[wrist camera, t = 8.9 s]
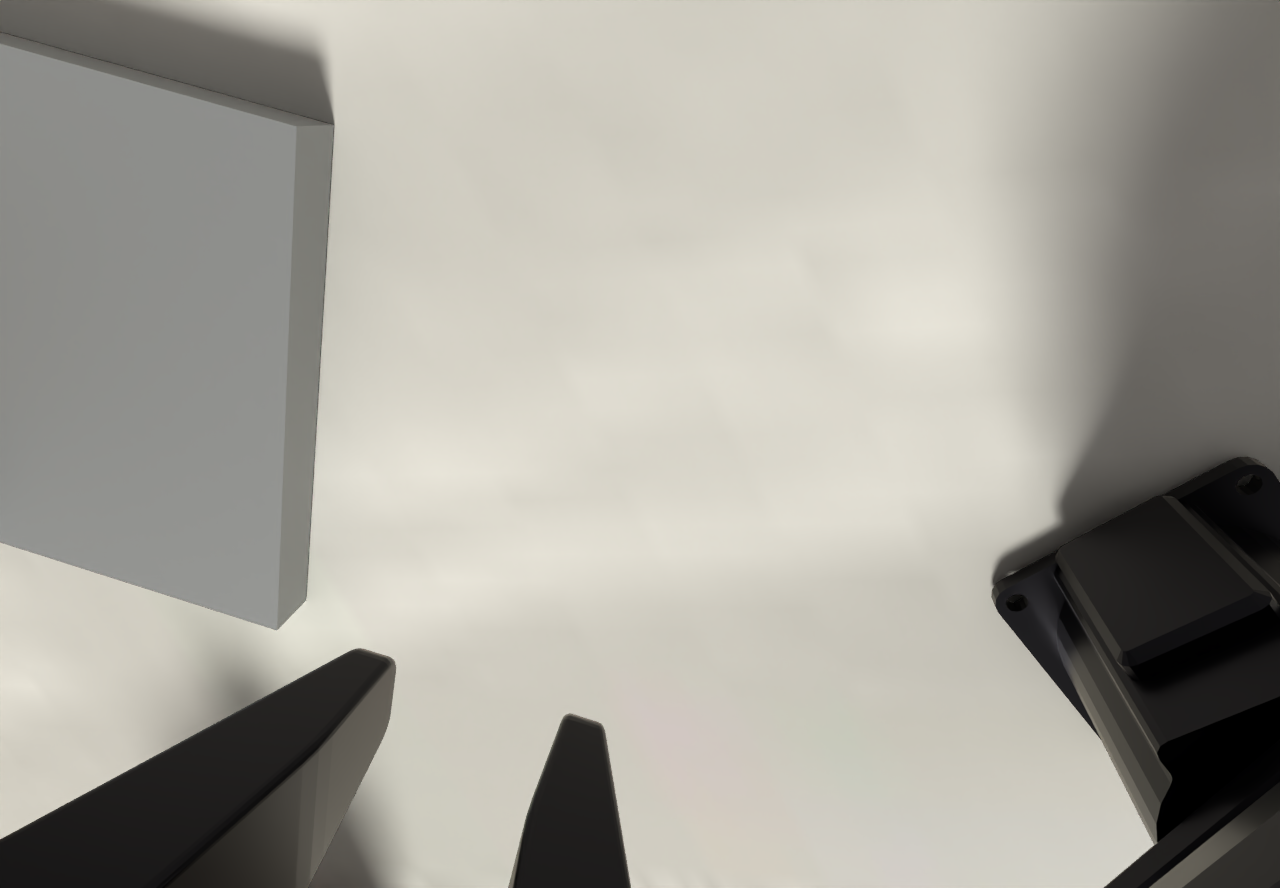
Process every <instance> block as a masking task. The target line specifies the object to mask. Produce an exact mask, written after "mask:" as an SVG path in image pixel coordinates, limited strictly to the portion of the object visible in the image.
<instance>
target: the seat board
mask: <svg viewBox="0 0 1280 888" xmlns="http://www.w3.org/2000/svg"><path fill="white" fill-rule="evenodd" d="M333 131H334V125H332V124H328V123H325V122H321V121H318V120H314V119H310V118H307V117H303V116H300V115H296V114H293V113H289V112H285V111H282V110H278V109H275V108H271V107H267V106H264V105H260V104H257V103H253V102H249V101H246V100H242V99H239V98H235V97H231V96H228V95H224V94H221V93H217V92H214V91H210V90H206V89H203V88H199V87H196V86H192V85H188V84H185V83H181V82H178V81H174V80H170V79H167V78H163V77H160V76H156V75H152V74H149V73H145V72H142V71H138V70H135V69H131V68H127V67H124V66H120V65H117V64H113V63H109V62H106V61H102V60H99V59H95V58H91V57H88V56H84V55H81V54H77V53H73V52H70V51H66V50H63V49H59V48H56V47H52V46H48V45H45V44H41V43H38V42H34V41H30V40H27V39H23V38H20V37H16V36H12V35H9V34H5V33H2V32H0V543H4V544H7V545H10V546H13V547H16V548H19V549H22V550H26V551H29V552H32V553H35V554H38V555H41V556H45V557H48V558H51V559H54V560H57V561H60V562H63V563H67V564H70V565H73V566H76V567H79V568H82V569H85V570H89V571H92V572H95V573H98V574H101V575H104V576H108V577H111V578H114V579H117V580H120V581H123V582H126V583H130V584H133V585H136V586H139V587H142V588H145V589H148V590H152V591H155V592H158V593H161V594H164V595H167V596H170V597H174V598H177V599H180V600H183V601H186V602H189V603H193V604H196V605H199V606H202V607H205V608H208V609H211V610H215V611H218V612H221V613H224V614H227V615H230V616H233V617H237V618H240V619H243V620H246V621H249V622H252V623H255V624H259V625H262V626H265V627H268V628H271V629H274V630H278V629H279V628H280V627H281V626H282V625H283V624H284V623H285V622H286V620H287V619H288V618H289V617H290V616H291V615H292V614H293V613H294V612H295V611H296V610H297V609H298V608H299V607H300V606H301V605H302V604H303V603H304V602H305V601H306V590H307V573H308V556H309V539H310V522H311V505H312V488H313V471H314V454H315V437H316V420H317V403H318V386H319V369H320V352H321V335H322V318H323V301H324V284H325V267H326V250H327V233H328V216H329V199H330V182H331V165H332V148H333Z"/></svg>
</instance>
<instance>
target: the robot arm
mask: <svg viewBox="0 0 1280 888" xmlns="http://www.w3.org/2000/svg"><path fill="white" fill-rule="evenodd" d="M1250 474H1251V475H1253V476H1252V478H1251V481H1250V482H1249V483H1247V484H1246V485H1244V486H1241V487H1236V484H1237V482H1238V480H1239V479H1241V478H1242V477H1243V476H1246V475H1250ZM1016 594H1019V595H1023V597H1022V598H1021V599H1020V600H1019V601H1016V602H1007V599H1008V598H1009V597H1010V596H1012V595H1016ZM992 599H993V602H994V604H995V606H996V609H997V611H998V613H999V614H1000V615H1001V616H1002V618H1003V619H1004V620H1005V621H1006V623H1007V624H1008V625H1009V626H1010V628H1011V629H1012V630H1013V631H1014V632H1015V634H1016V635H1017V636H1018V637H1019V639H1020V640H1021V641H1022V642H1023V644H1024V645H1025V646H1026V647H1027V649H1028V650H1029V651H1030V652H1031V654H1032V655H1033V656H1034V657H1035V658H1036V660H1037V661H1038V662H1039V663H1040V665H1041V666H1042V667H1043V668H1044V670H1045V671H1046V672H1047V673H1048V675H1049V676H1050V677H1051V678H1052V680H1053V681H1054V682H1055V683H1056V684H1057V686H1058V687H1059V688H1060V689H1061V691H1062V692H1063V693H1064V694H1065V696H1066V697H1067V698H1068V699H1069V701H1070V702H1071V703H1072V704H1073V706H1074V707H1075V708H1076V709H1077V710H1078V712H1079V713H1080V714H1081V715H1082V717H1083V718H1084V719H1085V720H1086V722H1087V723H1088V724H1089V725H1090V727H1091V728H1092V729H1093V730H1094V732H1095V733H1096V734H1097V735H1098V737H1099V738H1100V739H1101V740H1102V742H1103V744H1104V746H1105V748H1106V750H1107V752H1108V754H1109V756H1110V758H1111V760H1112V762H1113V764H1114V766H1115V768H1116V770H1117V772H1118V774H1119V776H1120V778H1121V780H1122V782H1123V784H1124V786H1125V788H1126V790H1127V792H1128V794H1129V796H1130V798H1131V800H1132V802H1133V804H1134V806H1135V808H1136V810H1137V812H1138V814H1139V816H1140V818H1141V820H1142V822H1143V824H1144V825H1145V827H1146V829H1147V831H1148V833H1149V835H1150V837H1151V839H1152V841H1153V843H1154V846H1153V847H1151V848H1150V849H1149V850H1148V851H1147V852H1146V853H1144V854H1143V855H1142V856H1141V857H1140V858H1138V859H1137V860H1136V861H1135V862H1134V863H1132V864H1131V865H1130V866H1129V867H1128V868H1127V869H1125V870H1124V871H1123V872H1122V873H1121V874H1119V875H1118V876H1117V877H1116V878H1115V879H1113V880H1112V881H1111V882H1110V883H1109V884H1108V885H1106V886H1105V887H1104V888H1280V482H1279V481H1278V479H1277V478H1276V476H1275V475H1274V473H1273V472H1272V471H1271V470H1270V469H1268V468H1267V467H1266V466H1265V465H1263V464H1262V463H1261V462H1259V461H1258V460H1256V459H1253V458H1250V457H1238V458H1235V459H1232V460H1229V461H1227V462H1225V463H1223V464H1221V465H1219V466H1217V467H1216V468H1214V469H1212V470H1210V471H1208V472H1206V473H1204V474H1202V475H1200V476H1198V477H1197V478H1195V479H1193V480H1191V481H1189V482H1187V483H1185V484H1183V485H1181V486H1179V487H1178V488H1176V489H1174V490H1172V491H1170V492H1168V493H1166V494H1164V495H1162V496H1157V497H1154V498H1152V499H1151V500H1149V501H1147V502H1145V503H1143V504H1141V505H1139V506H1137V507H1135V508H1133V509H1132V510H1130V511H1128V512H1126V513H1124V514H1122V515H1120V516H1118V517H1116V518H1114V519H1113V520H1111V521H1109V522H1107V523H1105V524H1103V525H1101V526H1099V527H1097V528H1095V529H1094V530H1092V531H1090V532H1088V533H1086V534H1084V535H1082V536H1080V537H1078V538H1076V539H1075V540H1073V541H1071V542H1069V543H1067V544H1065V545H1063V546H1061V547H1060V548H1059V550H1058V551H1056V552H1054V553H1052V554H1050V555H1048V556H1046V557H1044V558H1042V559H1040V560H1039V561H1037V562H1035V563H1033V564H1031V565H1029V566H1027V567H1025V568H1023V569H1021V570H1020V571H1018V572H1016V573H1014V574H1012V575H1010V576H1008V577H1006V578H1004V579H1002V580H1001V581H1000V582H998V583H997V584H996V585H995V586H994V588H993V590H992ZM395 674H396V665H395V661H394V660H393V659H392V658H391V657H388V656H385V655H382V654H378V653H375V652H372V651H369V650H366V649H361V648H358V649H354V650H351V651H349V652H347V653H345V654H343V655H342V656H340V657H338V658H336V659H334V660H332V661H330V662H329V663H327V664H325V665H323V666H321V667H319V668H317V669H316V670H314V671H312V672H310V673H308V674H306V675H304V676H303V677H301V678H299V679H297V680H295V681H293V682H291V683H290V684H288V685H286V686H284V687H282V688H280V689H278V690H277V691H275V692H273V693H271V694H269V695H267V696H266V697H264V698H262V699H260V700H258V701H256V702H254V703H253V704H251V705H249V706H247V707H245V708H243V709H241V710H240V711H238V712H236V713H234V714H232V715H230V716H228V717H227V718H225V719H223V720H221V721H219V722H217V723H215V724H214V725H212V726H210V727H208V728H206V729H204V730H202V731H201V732H199V733H197V734H195V735H193V736H191V737H189V738H188V739H186V740H184V741H182V742H180V743H178V744H176V745H175V746H173V747H171V748H169V749H167V750H165V751H163V752H162V753H160V754H158V755H156V756H154V757H152V758H150V759H149V760H147V761H145V762H143V763H141V764H139V765H138V766H136V767H134V768H132V769H130V770H128V771H126V772H125V773H123V774H121V775H119V776H117V777H115V778H113V779H112V780H110V781H108V782H106V783H104V784H102V785H100V786H99V787H97V788H95V789H93V790H91V791H89V792H87V793H86V794H84V795H82V796H80V797H78V798H76V799H74V800H73V801H71V802H69V803H67V804H65V805H63V806H61V807H60V808H58V809H56V810H54V811H52V812H50V813H48V814H47V815H45V816H43V817H41V818H39V819H37V820H35V821H34V822H32V823H30V824H28V825H26V826H24V827H22V828H21V829H19V830H17V831H15V832H13V833H11V834H10V835H8V836H6V837H4V838H2V839H0V888H308V886H309V884H310V882H311V880H312V878H313V877H314V875H315V873H316V871H317V869H318V867H319V865H320V863H321V861H322V859H323V857H324V855H325V853H326V851H327V849H328V847H329V845H330V843H331V841H332V839H333V837H334V835H335V833H336V831H337V829H338V827H339V825H340V823H341V821H342V819H343V817H344V815H345V813H346V811H347V809H348V807H349V805H350V803H351V801H352V799H353V797H354V795H355V793H356V791H357V789H358V787H359V785H360V783H361V781H362V779H363V777H364V775H365V773H366V771H367V769H368V767H369V765H370V763H371V761H372V759H373V757H374V755H375V753H376V751H377V749H378V747H379V745H380V743H381V741H382V739H383V737H384V735H385V732H386V729H387V726H388V723H389V719H390V714H391V706H392V698H393V690H394V682H395ZM508 888H631V884H630V878H629V872H628V866H627V860H626V854H625V848H624V842H623V836H622V830H621V824H620V818H619V812H618V806H617V800H616V794H615V788H614V782H613V776H612V770H611V764H610V758H609V752H608V746H607V740H606V734H605V730H604V727H603V726H602V724H601V723H599V722H596V721H593V720H590V719H586V718H583V717H580V716H577V715H574V714H567V715H565V716H564V717H563V719H562V721H561V723H560V726H559V729H558V731H557V734H556V737H555V739H554V742H553V745H552V747H551V750H550V753H549V755H548V758H547V761H546V763H545V766H544V769H543V771H542V774H541V777H540V779H539V782H538V785H537V787H536V790H535V793H534V795H533V798H532V801H531V804H530V807H529V810H528V813H527V816H526V820H525V824H524V828H523V832H522V836H521V840H520V843H519V847H518V851H517V855H516V859H515V863H514V867H513V871H512V875H511V879H510V883H509V887H508Z"/></svg>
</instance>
